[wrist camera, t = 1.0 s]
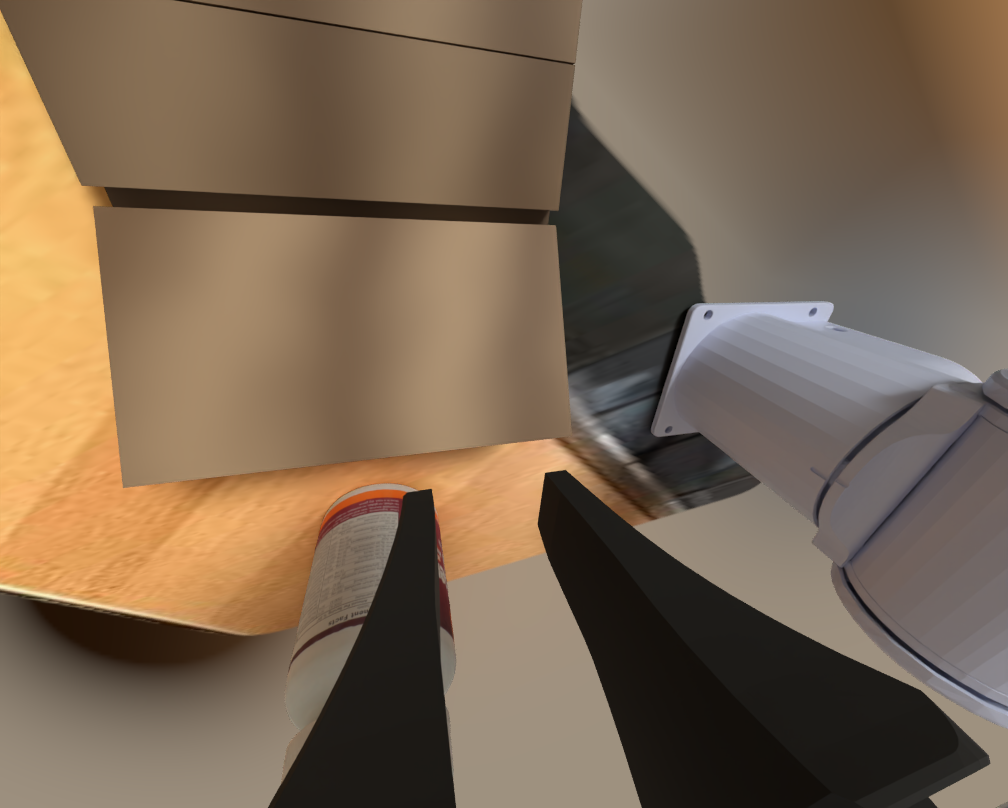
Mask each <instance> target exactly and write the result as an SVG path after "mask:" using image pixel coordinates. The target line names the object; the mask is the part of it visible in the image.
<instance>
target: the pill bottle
mask: <svg viewBox="0 0 1008 808" xmlns="http://www.w3.org/2000/svg"><path fill="white" fill-rule="evenodd" d="M413 491H418V490H416V489H414V488H411V487H408V486H405V485H400V484H392V483H383V484H373V485H368V486H364V487H361V488H358V489H355V490H353V491H351V492H349V493H347V494H345V495H343V496H342V497H341V498H339V499H338V500H337V501H336V502H335V503H334V504H333V505H332V506H331V507H330V508H329V510H328V511H327V513H326V515H325V517H324V519H323V522H322V525H321V528H320V533H319V537H318V540H317V545H316V548H315V554H314V558H313V563H312V567H311V572H310V576H309V581H308V585H307V590H306V594H305V599H304V603H303V608H302V612H301V617H300V621H299V626H298V630H297V636H296V640H295V644H294V648H293V653H292V657H291V662H290V667H289V672H288V676H287V682H286V688H285V707H286V711H287V713H288V716H289V718H290V720H291V721H292V723H293V724H294V725H295V726H296V727H297V728H298V729H299V730H300V732H299V733H298V734H296V736H295V737H294V738H293V739H292V740H291V742H290V743H289V745H288V747H287V750H286V755H285V760H284V765H283V775H282V781H281V784H282V782H283V780H284V778H285V777H286V775H287V773H288V771H289V769H290V768H291V766H292V764H293V762H294V761H295V759H296V757H297V755H298V754H299V752H300V750H301V748H302V746H303V745H304V743H305V741H306V739H307V737H308V735H309V734H310V732H311V730H312V728H313V726H314V724H315V722H316V720H317V718H318V717H319V715H320V713H321V711H322V709H323V707H324V705H325V703H326V701H327V699H328V697H329V695H330V693H331V691H332V689H333V687H334V685H335V683H336V681H337V679H338V677H339V675H340V673H341V671H342V669H343V667H344V665H345V663H346V660H347V658H348V656H349V654H350V652H351V650H352V648H353V645H354V643H355V641H356V639H357V637H358V634H359V632H360V630H361V627H362V625H363V623H364V621H365V618H366V616H367V613H368V611H369V608H370V606H371V603H372V601H373V598H374V596H375V593H376V591H377V588H378V585H379V583H380V580H381V578H382V575H383V572H384V569H385V566H386V563H387V560H388V557H389V554H390V551H391V548H392V545H393V542H394V538H395V534H396V531H397V527H398V523H399V519H400V514H401V508H402V501H403V496H404V495H405V494H406V493H407V492H413ZM434 508H435V507H434ZM435 520H436V536H437V553H438V569H439V593H440V642H441V668H442V678H443V687H444V696H445V694H446V693H447V691H448V689H449V687H450V685H451V683H452V680H453V677H454V674H455V668H456V654H455V644H454V636H453V628H452V621H451V613H450V604H449V597H448V586H447V580H446V575H445V567H444V557H443V550H442V543H441V536H440V527H439V520H438V515H437V512H436V509H435ZM445 707H446V706H445ZM446 716H447V726H448V736H449V745H450V755H451V764H452V774H453V758H452V746H451V737H450V718H449V712H448V709H447V708H446Z"/></svg>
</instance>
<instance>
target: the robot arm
mask: <svg viewBox="0 0 1008 808" xmlns="http://www.w3.org/2000/svg"><path fill="white" fill-rule="evenodd" d="M833 308H834V307H833V304H832V303H829V302H826V301H811V302H760V303H758V302H757V303H756V302H755V303H700V304H695V305H693V306H692V307H691V308H690V309H689V311H688V313H687V315H686V318H685V322H684V325H683V328H682V331H681V334H680V338H679V341H678V344H677V347H676V350H675V353H674V357H673V360H672V363H671V366H670V369H669V373H668V376H667V379H666V382H665V385H664V388H663V392H662V395H661V398H660V401H659V404H658V408H657V411H656V414H655V417H654V420H653V423H652V427H651V433H652V434H653V435H655V436H656V437H662V436H670V435H678V434H686V433H694V432H700V433H701V434H702V435H703V436H705V437H706V438H707V439H708V440H710V441H711V442H712V443H713V444H714V445H716V446H717V447H718V448H719V449H721V450H722V451H723V452H724V453H726V454H727V455H728V456H729V457H731V458H732V459H733V460H734V461H736V462H737V463H738V464H739V465H741V466H742V467H743V468H744V469H746V470H747V471H748V472H749V473H751V474H752V475H753V476H754V477H756V478H757V479H758V480H759V481H761V482H762V483H763V484H764V485H766V486H767V487H768V488H769V489H771V490H772V491H773V492H774V493H776V494H777V495H778V496H779V497H781V498H782V499H783V500H784V501H786V502H787V503H788V504H789V505H791V506H792V507H793V508H795V509H796V510H797V511H798V512H799V513H800V514H802V515H803V516H804V517H806V518H807V519H808V520H810V521H811V522H812V523H813V524H814V525H816V526H817V527H818V528H819V529H818V531H817V534H816V536H815V537H814V538H813V540H812V544H814V545H815V546H816V547H817V548H818V549H819V550H820V551H822V552H823V553H824V554H825V555H826V556H828V557H829V558H830V559H831V560H832V561H833V563H832V568H831V577H832V582H833V585H834V588H835V590H836V593H837V595H838V596H839V598H840V600H841V601H842V603H843V605H844V607H845V608H846V609H847V611H848V612H849V613H850V615H851V616H852V618H853V619H854V620H855V621H856V623H857V624H858V625H859V626H860V627H861V629H862V630H863V631H864V632H865V633H866V634H867V636H868V637H869V638H870V639H871V640H872V641H873V642H874V643H875V644H876V645H877V646H878V647H879V648H880V649H881V650H882V651H883V652H884V653H885V654H886V655H887V656H889V657H890V658H891V659H892V660H893V661H894V662H896V663H897V664H898V665H899V666H901V667H902V668H903V669H904V670H906V671H907V672H908V673H910V674H911V675H912V676H913V677H915V678H916V679H918V680H919V681H920V682H922V683H923V684H925V685H926V686H928V687H929V688H931V689H932V690H934V691H936V692H937V693H939V694H941V695H942V696H944V697H945V698H947V699H949V700H951V701H952V702H954V703H956V704H957V705H959V706H961V707H963V708H964V709H966V710H968V711H969V712H971V713H974V714H976V715H978V716H980V717H982V718H984V719H986V720H988V721H990V722H992V723H994V724H996V725H999V726H1001V727H1004V728H1006V729H1008V368H1007V369H1002V370H998V371H996V372H994V373H993V374H992V375H991V376H990V377H989V378H988V379H987V380H986V382H985V383H982V382H981V380H980V379H979V378H978V377H976V376H975V375H974V374H973V373H971V372H970V371H969V370H967V369H966V368H964V367H963V366H961V365H959V364H957V363H955V362H953V361H950V360H948V359H945V358H943V357H939V356H936V355H933V354H930V353H927V352H923V351H920V350H917V349H913V348H910V347H907V346H904V345H901V344H898V343H894V342H891V341H888V340H885V339H881V338H878V337H875V336H872V335H868V334H865V333H862V332H859V331H856V330H852V329H849V328H846V327H843V326H839V325H836V324H833V323H830V322H827V321H828V319H829V317H830V315H831V313H832V311H833ZM706 312H707V314H706V315H705V316H704V314H705V313H706ZM538 527H539V531H540V534H541V537H542V540H543V544H544V547H545V550H546V553H547V556H548V559H549V561H550V563H551V566H552V568H553V570H554V572H555V575H556V577H557V579H558V581H559V583H560V586H561V588H562V591H563V593H564V595H565V597H566V599H567V602H568V604H569V606H570V608H571V610H572V613H573V615H574V617H575V619H576V621H577V624H578V626H579V628H580V630H581V632H582V635H583V637H584V639H585V642H586V644H587V646H588V649H589V651H590V654H591V656H592V659H593V661H594V664H595V667H596V670H597V673H598V676H599V678H600V681H601V684H602V687H603V690H604V692H605V695H606V698H607V701H608V704H609V707H610V710H611V713H612V716H613V719H614V721H615V725H616V728H617V731H618V734H619V737H620V740H621V743H622V746H623V749H624V752H625V755H626V759H627V762H628V765H629V768H630V771H631V774H632V778H633V781H634V784H635V787H636V791H637V794H638V797H639V800H640V803H641V806H642V808H937V806H935V804H934V803H933V802H932V801H931V800H930V799H929V796H931V795H933V794H935V793H937V792H938V791H940V790H942V789H944V788H946V787H948V786H950V785H952V784H954V783H956V782H957V781H959V780H961V779H963V778H965V777H967V776H969V775H971V774H973V773H975V772H977V771H978V770H980V769H982V768H984V767H986V766H987V765H989V764H990V760H989V755H987V753H986V752H985V751H984V750H983V749H981V747H980V746H979V745H977V744H976V743H975V742H974V741H973V740H972V739H971V738H970V737H969V736H968V735H967V734H966V733H965V732H964V731H963V730H962V729H961V728H960V727H959V726H958V725H957V724H956V723H955V722H954V721H952V720H951V719H950V718H949V717H948V716H947V715H946V714H945V713H944V712H943V711H942V710H941V709H940V708H939V707H938V706H937V705H936V704H935V703H934V702H933V701H932V700H931V699H929V698H928V697H927V696H926V695H925V694H924V693H923V692H922V691H921V690H919V689H916V688H914V687H912V686H910V685H908V684H906V683H903V682H901V681H899V680H897V679H895V678H893V677H890V676H888V675H886V674H884V673H881V672H879V671H877V670H875V669H873V668H871V667H868V666H866V665H864V664H862V663H860V662H857V661H855V660H853V659H851V658H849V657H847V656H844V655H842V654H840V653H838V652H836V651H834V650H832V649H830V648H828V647H826V646H824V645H822V644H820V643H818V642H816V641H814V640H812V639H810V638H809V637H806V636H805V635H803V634H801V633H798V632H797V631H795V630H793V629H791V628H789V627H787V626H785V625H783V624H782V623H780V622H778V621H776V620H774V619H772V618H771V617H769V616H767V615H765V614H763V613H762V612H760V611H758V610H756V609H755V608H753V607H751V606H749V605H748V604H746V603H744V602H743V601H741V600H739V599H737V598H735V597H734V596H732V595H730V594H728V593H727V592H726V591H724V590H722V589H721V588H719V587H717V586H716V585H714V584H712V583H711V582H709V581H708V580H706V579H705V578H703V577H702V576H700V575H699V574H697V573H695V572H694V571H692V570H691V569H689V568H688V567H686V566H685V565H683V564H682V563H681V562H679V561H678V560H676V559H675V558H673V557H672V556H671V555H669V554H668V553H666V552H665V551H664V550H662V549H661V548H660V547H658V546H657V545H656V544H654V543H653V542H652V541H650V540H649V539H647V538H646V537H645V536H643V535H642V534H641V533H640V532H638V531H637V530H636V529H635V528H633V527H632V526H631V525H630V524H628V523H627V522H626V521H625V520H623V519H622V518H621V517H620V516H618V515H617V514H616V513H615V512H614V511H612V510H611V509H610V508H609V507H608V506H606V505H605V504H604V503H603V502H602V501H601V500H599V499H598V498H597V497H596V496H595V495H594V494H593V493H591V492H590V491H589V490H588V489H587V488H586V487H584V486H583V485H582V484H581V483H580V482H579V481H578V480H576V479H575V478H574V477H573V476H572V475H571V474H570V473H568V472H567V471H566V470H563V471H556V472H549V473H545V477H544V484H543V491H542V498H541V505H540V512H539V518H538ZM268 808H456V803H455V793H454V783H453V774H452V764H451V755H450V745H449V736H448V726H447V716H446V707H445V697H444V687H443V678H442V668H441V642H440V593H439V569H438V553H437V536H436V520H435V508H434V501H433V495H432V489H427V490H420V491H413V492H407V493H406V494H405V495H404V496H403V501H402V508H401V514H400V519H399V523H398V527H397V531H396V534H395V538H394V542H393V545H392V548H391V551H390V554H389V557H388V560H387V563H386V566H385V569H384V572H383V575H382V578H381V580H380V583H379V585H378V588H377V591H376V593H375V596H374V598H373V601H372V603H371V606H370V608H369V611H368V613H367V616H366V618H365V621H364V623H363V625H362V627H361V630H360V632H359V634H358V637H357V639H356V641H355V643H354V645H353V648H352V650H351V652H350V654H349V656H348V658H347V660H346V663H345V665H344V667H343V669H342V671H341V673H340V675H339V677H338V679H337V681H336V683H335V685H334V687H333V689H332V691H331V693H330V695H329V697H328V699H327V701H326V703H325V705H324V707H323V709H322V711H321V713H320V715H319V717H318V718H317V720H316V722H315V724H314V726H313V728H312V730H311V732H310V734H309V735H308V737H307V739H306V741H305V743H304V745H303V746H302V748H301V750H300V752H299V754H298V755H297V757H296V759H295V761H294V762H293V764H292V766H291V768H290V769H289V771H288V773H287V775H286V777H285V778H284V780H283V782H282V784H281V785H280V787H279V789H278V791H277V793H276V794H275V796H274V798H273V799H272V801H271V803H270V805H269V807H268ZM996 808H1008V802H1006V803H1004V804H1001V805H1000V806H998V807H996Z"/></svg>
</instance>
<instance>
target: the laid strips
mask: <svg viewBox="0 0 1008 808" xmlns="http://www.w3.org/2000/svg"><path fill="white" fill-rule="evenodd" d="M581 8H582V0H0V10H1V12H2V14H3V17H4V19H5V21H6V23H7V25H8V27H9V30H10V32H11V34H12V36H13V38H14V40H15V42H16V45H17V47H18V49H19V51H20V53H21V55H22V58H23V60H24V62H25V64H26V66H27V68H28V71H29V73H30V75H31V77H32V79H33V81H34V84H35V86H36V88H37V90H38V92H39V94H40V97H41V99H42V101H43V103H44V105H45V107H46V110H47V112H48V114H49V116H50V118H51V120H52V123H53V125H54V127H55V129H56V131H57V133H58V135H59V138H60V140H61V142H62V144H63V146H64V148H65V151H66V153H67V155H68V157H69V159H70V161H71V164H72V166H73V168H74V170H75V172H76V174H77V177H78V179H79V181H80V183H81V185H82V186H101V187H105V190H106V192H107V194H108V197H109V199H110V201H111V203H112V206H113V207H123V208H147V209H172V210H196V211H220V212H244V213H268V214H292V215H317V216H341V217H365V218H389V219H413V220H437V221H462V222H486V223H510V224H534V225H548V220H549V210H558V209H559V201H560V192H561V183H562V175H563V166H564V157H565V148H566V140H567V131H568V122H569V113H570V105H571V96H572V87H573V79H574V70H575V65H573V64H575V61H576V51H577V44H578V35H579V26H580V17H581Z"/></svg>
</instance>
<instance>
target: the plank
mask: <svg viewBox="0 0 1008 808" xmlns="http://www.w3.org/2000/svg"><path fill="white" fill-rule="evenodd" d="M93 208H94V218H95V227H96V237H97V246H98V256H99V265H100V274H101V284H102V293H103V303H104V312H105V322H106V331H107V340H108V350H109V359H110V369H111V378H112V388H113V397H114V406H115V416H116V425H117V435H118V444H119V454H120V463H121V472H122V482H123V488H127V487H135V486H144V485H153V484H161V483H170V482H179V481H187V480H196V479H205V478H213V477H222V476H231V475H239V474H248V473H257V472H265V471H274V470H283V469H291V468H300V467H309V466H317V465H326V464H335V463H344V462H352V461H361V460H370V459H378V458H387V457H396V456H404V455H413V454H422V453H430V452H439V451H448V450H456V449H465V448H474V447H482V446H491V445H500V444H508V443H517V442H526V441H534V440H543V439H552V438H560V437H569V436H572V429H571V416H570V403H569V390H568V377H567V364H566V351H565V338H564V325H563V312H562V299H561V286H560V273H559V260H558V247H557V234H556V225H534V224H510V223H486V222H462V221H437V220H413V219H389V218H365V217H341V216H317V215H292V214H268V213H244V212H220V211H196V210H172V209H147V208H123V207H99V206H93Z"/></svg>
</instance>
